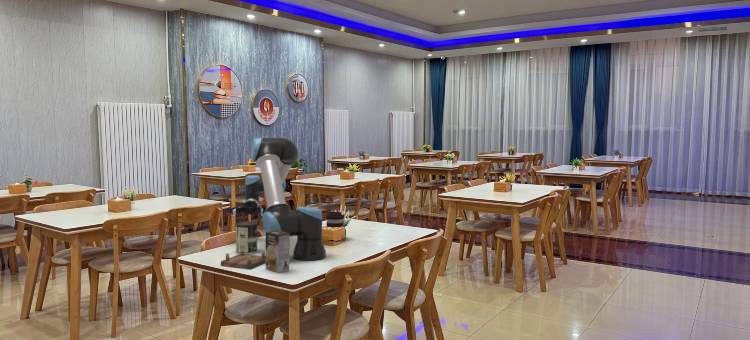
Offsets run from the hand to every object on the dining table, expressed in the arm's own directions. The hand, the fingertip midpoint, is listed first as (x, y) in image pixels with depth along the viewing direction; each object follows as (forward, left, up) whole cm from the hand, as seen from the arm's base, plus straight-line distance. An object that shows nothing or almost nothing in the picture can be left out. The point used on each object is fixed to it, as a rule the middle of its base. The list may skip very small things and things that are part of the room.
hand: (247, 213), depth 264 cm
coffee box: (-35, +30, -17) cm, 49 cm away
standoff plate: (-17, +27, -17) cm, 36 cm away
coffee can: (-5, +9, -17) cm, 20 cm away
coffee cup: (-32, -33, -17) cm, 49 cm away
